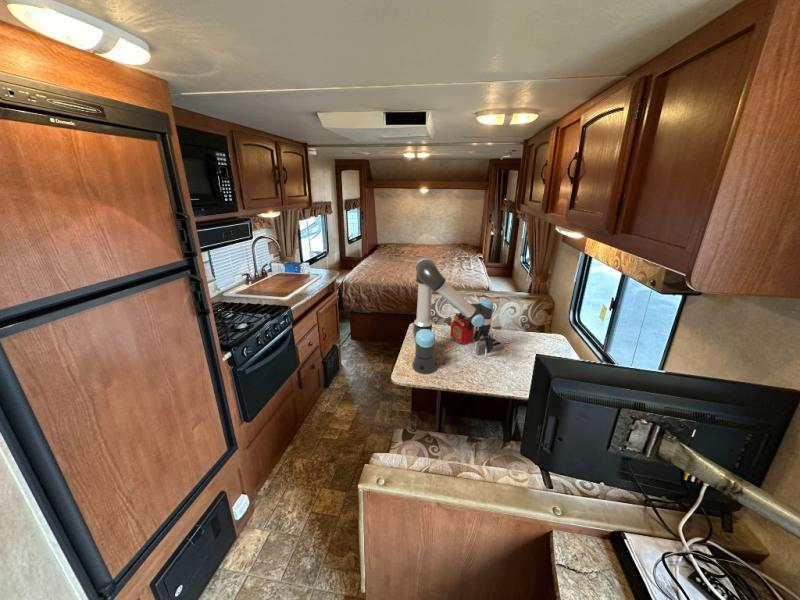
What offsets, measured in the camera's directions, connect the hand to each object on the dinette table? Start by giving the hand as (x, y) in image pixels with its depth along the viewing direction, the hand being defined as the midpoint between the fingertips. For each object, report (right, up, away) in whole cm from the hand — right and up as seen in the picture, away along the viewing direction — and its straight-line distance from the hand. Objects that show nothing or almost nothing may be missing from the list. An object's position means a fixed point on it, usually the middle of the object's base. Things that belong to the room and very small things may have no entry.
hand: (481, 353), depth 205 cm
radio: (-10, +6, +17) cm, 21 cm away
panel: (0, 0, 0) cm, 0 cm away
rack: (+8, +4, +9) cm, 13 cm away
